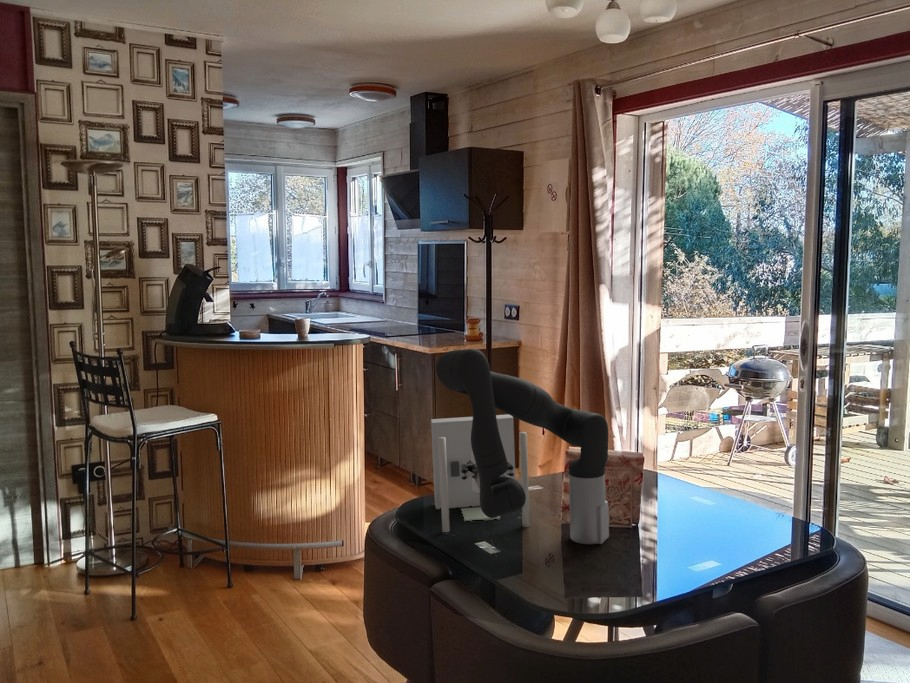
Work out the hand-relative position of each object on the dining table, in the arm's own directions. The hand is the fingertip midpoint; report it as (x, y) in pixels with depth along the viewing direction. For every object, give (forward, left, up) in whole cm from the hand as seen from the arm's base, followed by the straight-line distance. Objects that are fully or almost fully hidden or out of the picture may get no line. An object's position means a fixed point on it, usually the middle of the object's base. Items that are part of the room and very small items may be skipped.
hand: (482, 463), depth 214 cm
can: (-1, +2, -7) cm, 8 cm away
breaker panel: (+12, -17, -18) cm, 27 cm away
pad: (+6, -8, -18) cm, 20 cm away
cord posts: (-1, +2, -18) cm, 18 cm away
